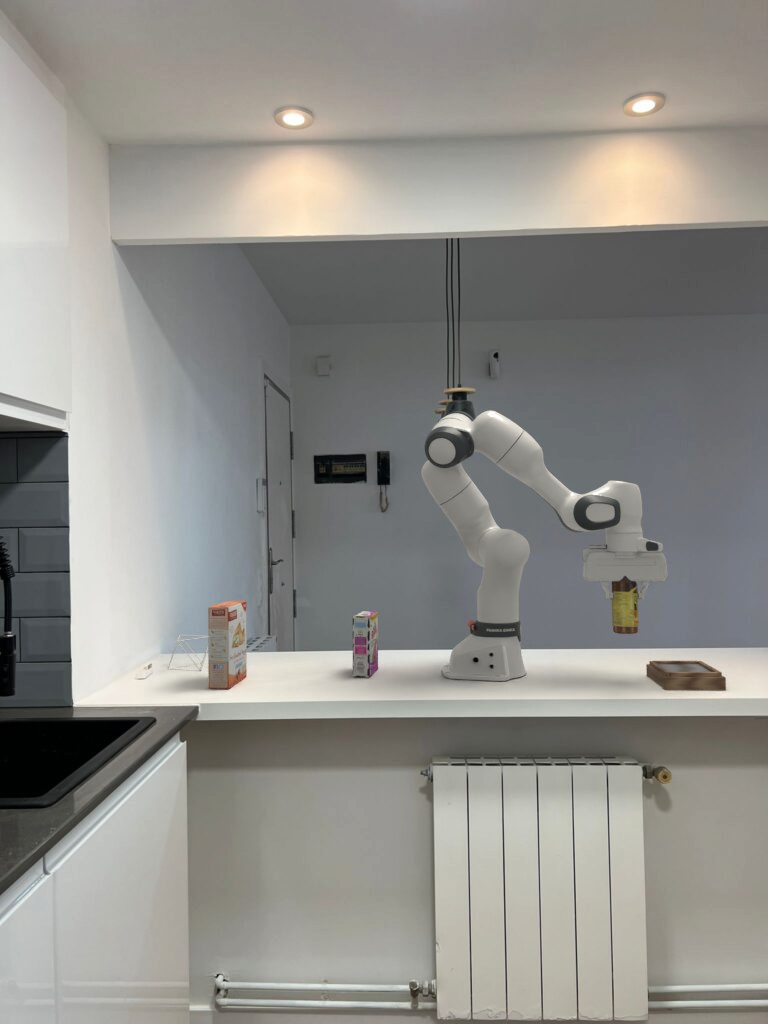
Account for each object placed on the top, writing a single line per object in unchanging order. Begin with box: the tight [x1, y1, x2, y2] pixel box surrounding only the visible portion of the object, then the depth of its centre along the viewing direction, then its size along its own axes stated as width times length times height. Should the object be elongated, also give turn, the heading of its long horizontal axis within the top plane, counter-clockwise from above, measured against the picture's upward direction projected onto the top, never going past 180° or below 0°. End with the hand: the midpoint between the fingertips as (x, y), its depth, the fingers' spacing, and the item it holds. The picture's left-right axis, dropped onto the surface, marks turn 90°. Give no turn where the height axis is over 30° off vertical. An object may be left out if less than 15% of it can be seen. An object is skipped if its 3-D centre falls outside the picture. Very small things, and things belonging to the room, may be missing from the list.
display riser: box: [645, 660, 727, 691], centre depth 172 cm, size 14×15×4 cm
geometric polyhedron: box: [167, 634, 208, 672], centre depth 199 cm, size 12×11×9 cm
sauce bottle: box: [611, 576, 639, 635], centre depth 174 cm, size 6×6×20 cm
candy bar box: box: [352, 610, 379, 679], centre depth 188 cm, size 11×5×16 cm, turn 168°
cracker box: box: [207, 600, 248, 690], centre depth 180 cm, size 14×6×21 cm, turn 173°
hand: (625, 599), depth 173 cm, fingers closed on sauce bottle, 6 cm apart
